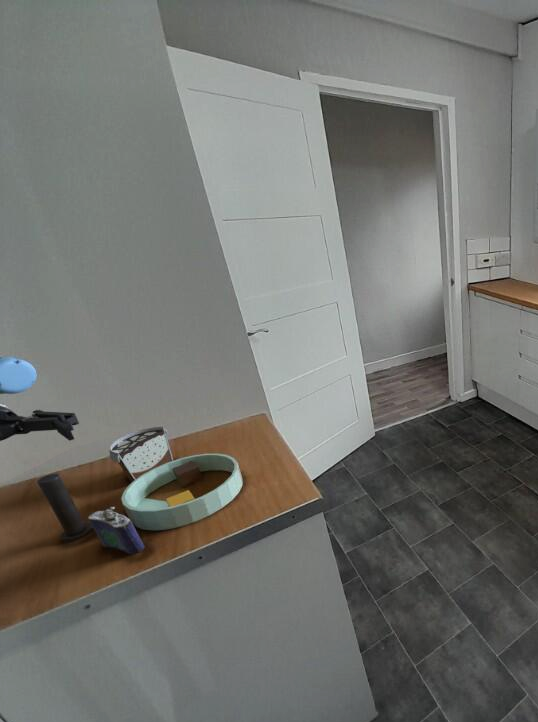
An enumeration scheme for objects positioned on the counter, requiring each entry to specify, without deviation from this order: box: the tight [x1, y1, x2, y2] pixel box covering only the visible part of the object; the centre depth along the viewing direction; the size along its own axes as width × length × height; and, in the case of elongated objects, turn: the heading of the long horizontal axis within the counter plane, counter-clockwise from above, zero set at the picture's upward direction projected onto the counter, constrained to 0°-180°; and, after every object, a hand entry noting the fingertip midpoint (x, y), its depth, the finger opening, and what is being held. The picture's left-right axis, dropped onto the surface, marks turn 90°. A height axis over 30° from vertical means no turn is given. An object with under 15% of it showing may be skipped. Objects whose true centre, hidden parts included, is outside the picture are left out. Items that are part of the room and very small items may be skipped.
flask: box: [87, 506, 145, 555], centre depth 75 cm, size 9×3×11 cm, turn 73°
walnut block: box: [172, 461, 204, 489], centre depth 96 cm, size 4×4×4 cm
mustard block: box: [165, 489, 195, 507], centre depth 86 cm, size 4×4×4 cm
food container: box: [109, 426, 174, 483], centre depth 98 cm, size 12×6×10 cm, turn 172°
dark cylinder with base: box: [36, 473, 94, 543], centre depth 77 cm, size 4×4×15 cm
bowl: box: [120, 453, 244, 531], centre depth 91 cm, size 20×20×6 cm
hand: (20, 449), depth 77 cm, fingers open, 13 cm apart
